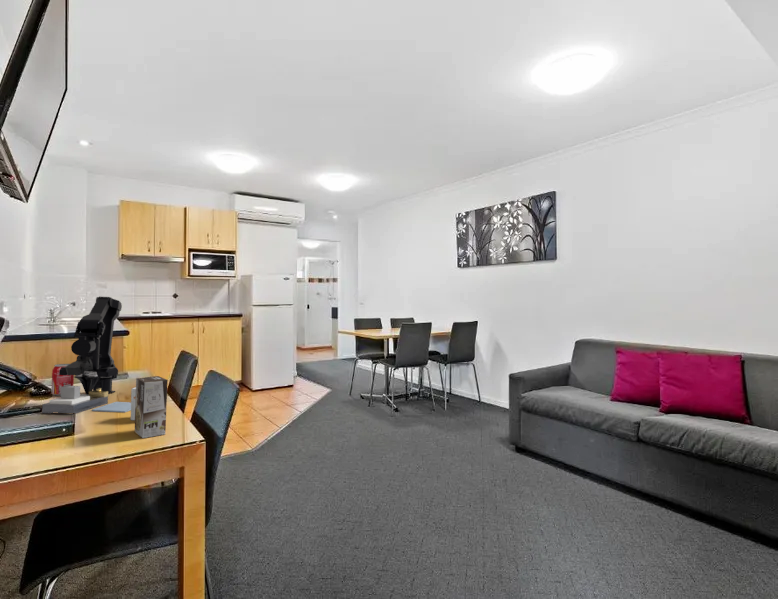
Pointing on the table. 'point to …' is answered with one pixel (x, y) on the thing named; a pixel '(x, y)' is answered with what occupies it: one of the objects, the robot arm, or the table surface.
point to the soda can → (60, 379)
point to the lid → (69, 396)
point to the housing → (75, 405)
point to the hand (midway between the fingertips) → (88, 394)
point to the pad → (115, 407)
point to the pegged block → (98, 393)
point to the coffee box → (150, 406)
